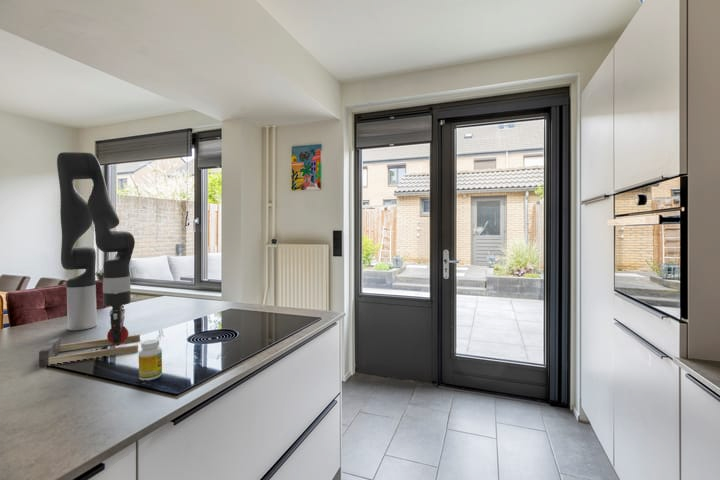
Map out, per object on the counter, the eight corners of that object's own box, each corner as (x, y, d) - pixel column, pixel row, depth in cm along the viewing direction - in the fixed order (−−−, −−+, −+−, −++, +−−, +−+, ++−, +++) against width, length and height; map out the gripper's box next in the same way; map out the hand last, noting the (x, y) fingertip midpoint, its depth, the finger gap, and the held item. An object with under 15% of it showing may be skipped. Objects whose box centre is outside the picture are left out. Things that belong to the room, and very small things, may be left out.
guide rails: (52, 351, 110) (52, 338, 110) (139, 339, 123) (139, 327, 123) (39, 366, 98) (38, 351, 98) (137, 351, 110) (137, 337, 110)
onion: (132, 343, 116) (132, 320, 116) (119, 348, 111) (118, 324, 110) (117, 342, 117) (116, 319, 117) (103, 348, 111) (102, 324, 111)
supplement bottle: (140, 374, 92) (139, 340, 92) (163, 371, 95) (162, 337, 95) (137, 382, 88) (136, 346, 87) (161, 378, 90) (160, 343, 90)
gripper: (105, 288, 117) (106, 335, 118) (99, 294, 105) (101, 348, 106) (131, 286, 121) (132, 332, 122) (129, 292, 109) (130, 344, 109)
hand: (118, 339), depth 114 cm, fingers closed on onion, 6 cm apart
